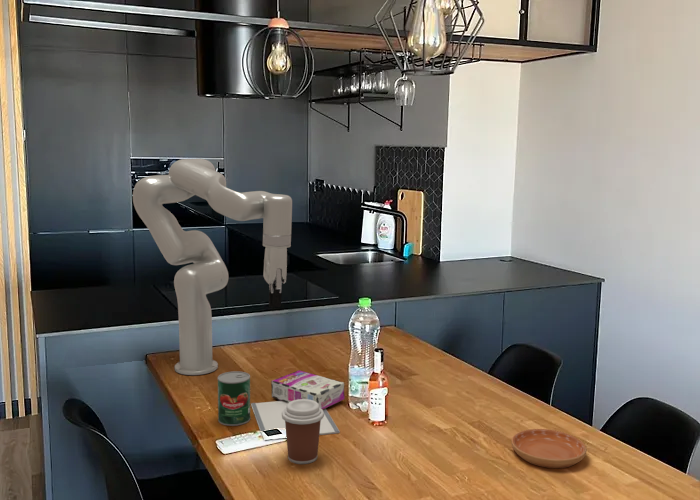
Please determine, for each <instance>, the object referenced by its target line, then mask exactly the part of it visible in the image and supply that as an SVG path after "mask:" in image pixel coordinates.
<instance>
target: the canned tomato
mask: <svg viewBox="0 0 700 500" xmlns="http://www.w3.org/2000/svg"><path fill="white" fill-rule="evenodd" d="M217 408H218V409H217V412H218V413H217V415H218V417H217V420H218V423H219V424H221V425H224V426H228V427H230V426H231V427H236V426H242V425H245V424H247V423H249V422H250V421H251V375H250V373H248V372H245V371H237V370H236V371H235V370H234V371H228V372H227V371H226V372H222V373H221V374H219V375H218V376H217Z"/></svg>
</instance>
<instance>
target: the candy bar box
mask: <svg viewBox="0 0 700 500" xmlns="http://www.w3.org/2000/svg"><path fill="white" fill-rule="evenodd" d="M271 398H273V399H276V400H278V401H285V402H288V403H289V402H291V401H293V400H298V399H309V400H313V401H315V402H317V403H318V404H319V407H320V408H321V409H322V410H323V409H325V408H326V409H327V408H328V407H331V406H333V405H336V404H338V403H339V402H341V401H342V402H343V401H344V400H345V382H343V381H339V380H335V379H332V378H329V377H325V376H321V375H317V374H313V373H311V372H306V371H303V370H297V371H294V372H292V373H289V374H286V375H284V376H281V377H279V378H275V379H273V380H271Z"/></svg>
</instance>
